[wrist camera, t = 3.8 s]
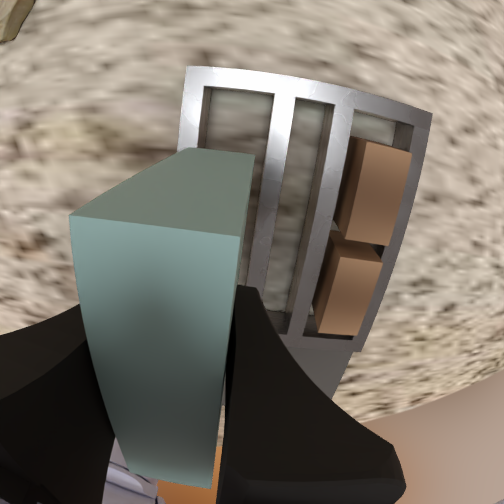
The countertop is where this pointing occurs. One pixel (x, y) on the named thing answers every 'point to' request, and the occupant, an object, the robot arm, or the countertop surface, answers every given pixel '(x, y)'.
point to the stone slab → (12, 17)
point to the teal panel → (164, 305)
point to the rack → (323, 186)
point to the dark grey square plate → (320, 367)
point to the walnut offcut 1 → (371, 190)
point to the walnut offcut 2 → (345, 285)
